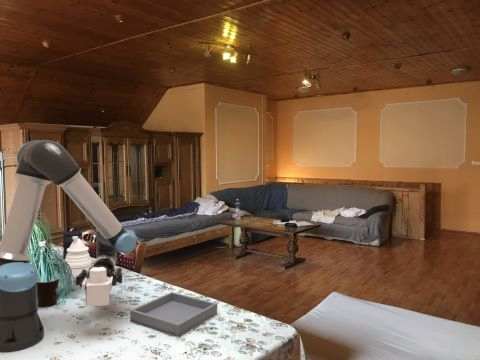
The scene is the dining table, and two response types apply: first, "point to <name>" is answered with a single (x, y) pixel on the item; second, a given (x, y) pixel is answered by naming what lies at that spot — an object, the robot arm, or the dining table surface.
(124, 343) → the dining table surface
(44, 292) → the brown plant pot
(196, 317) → the box
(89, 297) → the medicine bottle
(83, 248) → the honey pot
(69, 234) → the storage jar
